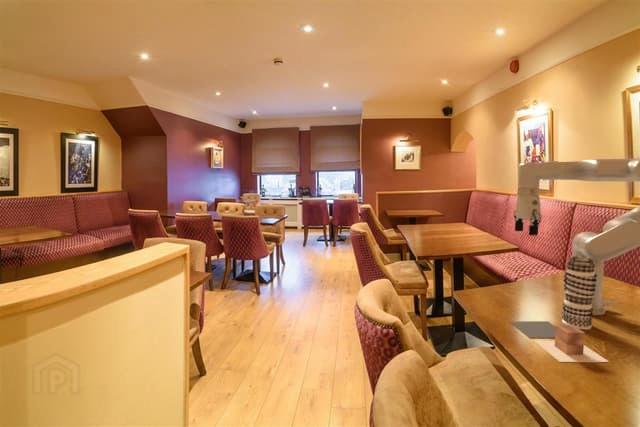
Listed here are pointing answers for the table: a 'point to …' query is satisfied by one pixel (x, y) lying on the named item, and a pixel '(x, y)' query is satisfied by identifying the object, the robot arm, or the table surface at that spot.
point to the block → (569, 339)
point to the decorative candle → (579, 292)
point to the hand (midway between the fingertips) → (525, 232)
